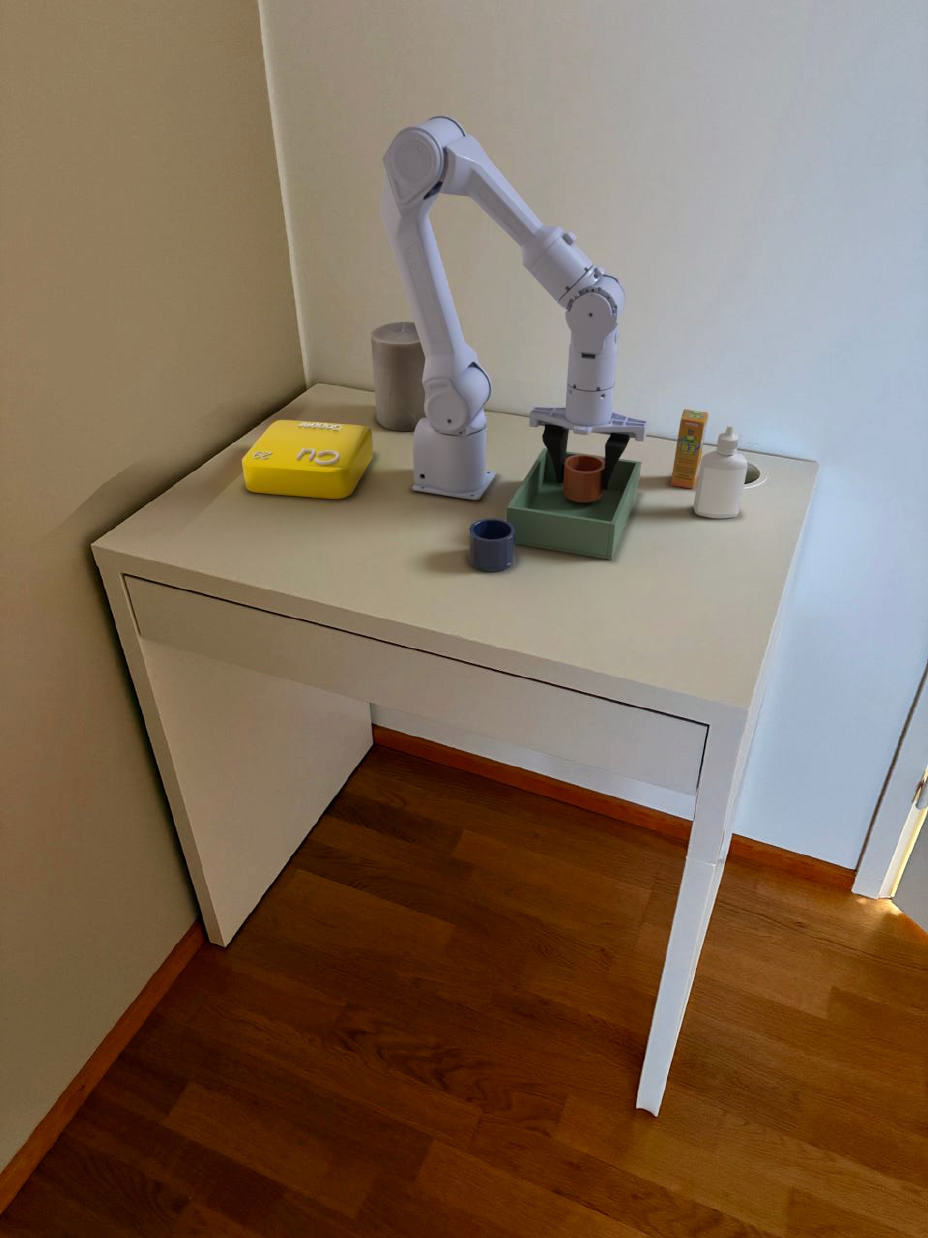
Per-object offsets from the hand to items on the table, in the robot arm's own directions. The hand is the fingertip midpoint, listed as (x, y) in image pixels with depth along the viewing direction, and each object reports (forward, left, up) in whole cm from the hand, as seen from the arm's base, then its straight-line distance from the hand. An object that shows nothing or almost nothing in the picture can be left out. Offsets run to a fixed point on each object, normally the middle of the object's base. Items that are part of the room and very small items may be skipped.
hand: (583, 483), depth 119 cm
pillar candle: (-32, +18, -3) cm, 37 cm away
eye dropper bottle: (+17, +3, -3) cm, 18 cm away
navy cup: (-7, -17, -3) cm, 19 cm away
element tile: (-38, -3, -3) cm, 38 cm away
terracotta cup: (0, 0, -1) cm, 1 cm away
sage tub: (0, -4, -3) cm, 5 cm away
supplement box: (+12, +10, -3) cm, 16 cm away
